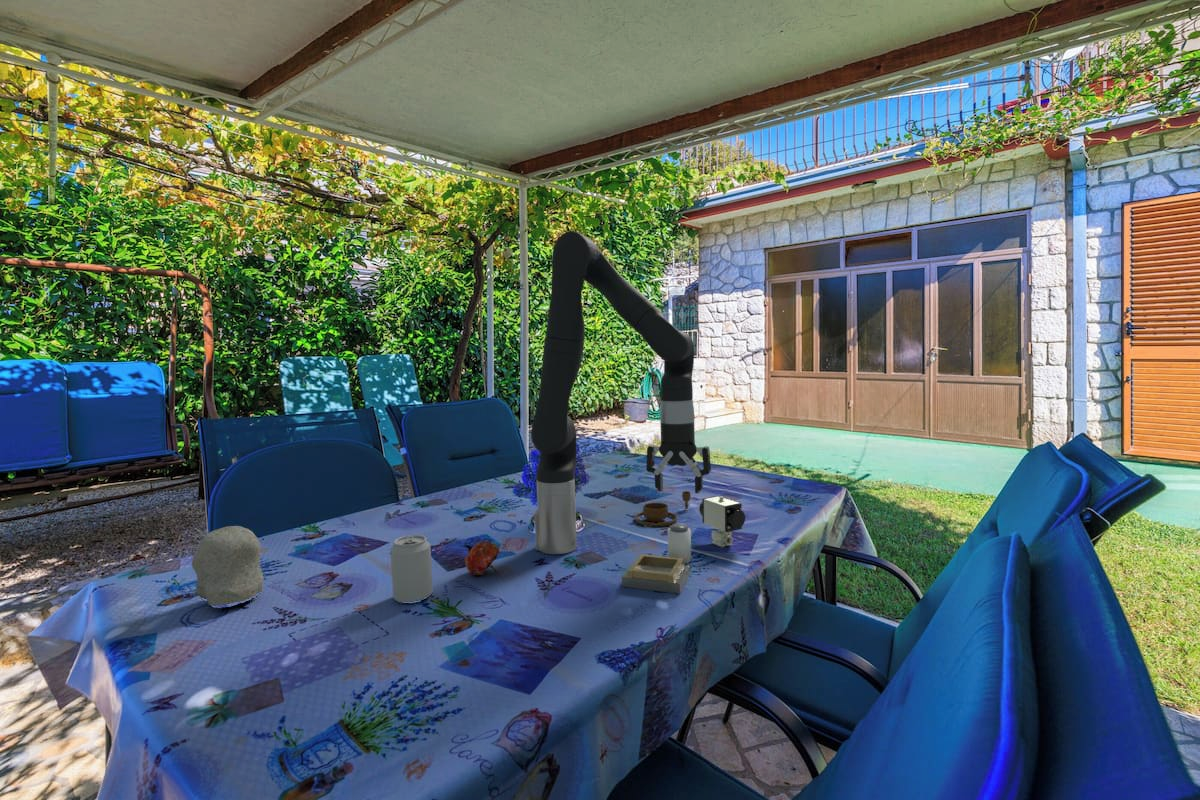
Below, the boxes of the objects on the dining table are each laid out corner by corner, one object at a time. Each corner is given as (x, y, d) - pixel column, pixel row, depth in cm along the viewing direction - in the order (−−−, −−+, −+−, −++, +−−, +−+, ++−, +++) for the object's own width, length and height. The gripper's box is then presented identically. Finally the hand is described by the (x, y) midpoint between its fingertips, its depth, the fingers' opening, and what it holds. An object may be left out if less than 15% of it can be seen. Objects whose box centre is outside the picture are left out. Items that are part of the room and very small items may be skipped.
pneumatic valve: (731, 553, 132) (730, 503, 131) (698, 539, 142) (698, 493, 141) (748, 549, 135) (748, 499, 134) (715, 536, 145) (715, 489, 144)
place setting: (625, 516, 166) (625, 496, 166) (688, 509, 172) (687, 490, 171) (646, 534, 150) (646, 512, 149) (715, 525, 155) (714, 504, 154)
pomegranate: (502, 577, 127) (470, 547, 129) (517, 555, 125) (484, 526, 126) (483, 593, 121) (450, 562, 123) (498, 571, 118) (464, 539, 120)
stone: (272, 598, 114) (267, 525, 112) (213, 621, 104) (206, 541, 103) (242, 587, 119) (236, 518, 118) (183, 608, 110) (177, 533, 109)
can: (391, 608, 108) (388, 547, 107) (394, 592, 115) (391, 535, 114) (432, 602, 110) (429, 542, 109) (433, 587, 117) (430, 531, 116)
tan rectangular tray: (621, 586, 115) (621, 569, 115) (635, 568, 124) (635, 553, 124) (680, 593, 111) (679, 576, 110) (690, 574, 120) (689, 558, 120)
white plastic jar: (665, 562, 127) (665, 528, 127) (671, 554, 132) (670, 522, 132) (688, 565, 126) (688, 530, 125) (693, 556, 130) (692, 523, 130)
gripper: (641, 422, 125) (643, 494, 127) (706, 422, 120) (707, 497, 122) (650, 418, 132) (652, 486, 134) (712, 418, 127) (713, 489, 129)
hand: (678, 491), depth 128 cm, fingers open, 8 cm apart
